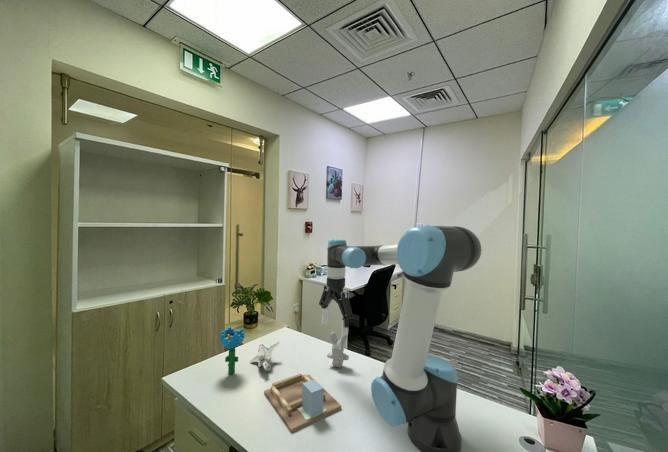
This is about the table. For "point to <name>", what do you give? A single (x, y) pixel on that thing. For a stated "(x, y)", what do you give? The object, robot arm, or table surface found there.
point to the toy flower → (231, 345)
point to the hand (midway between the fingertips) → (334, 328)
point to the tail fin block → (312, 397)
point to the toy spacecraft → (264, 356)
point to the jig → (296, 402)
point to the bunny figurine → (337, 351)
